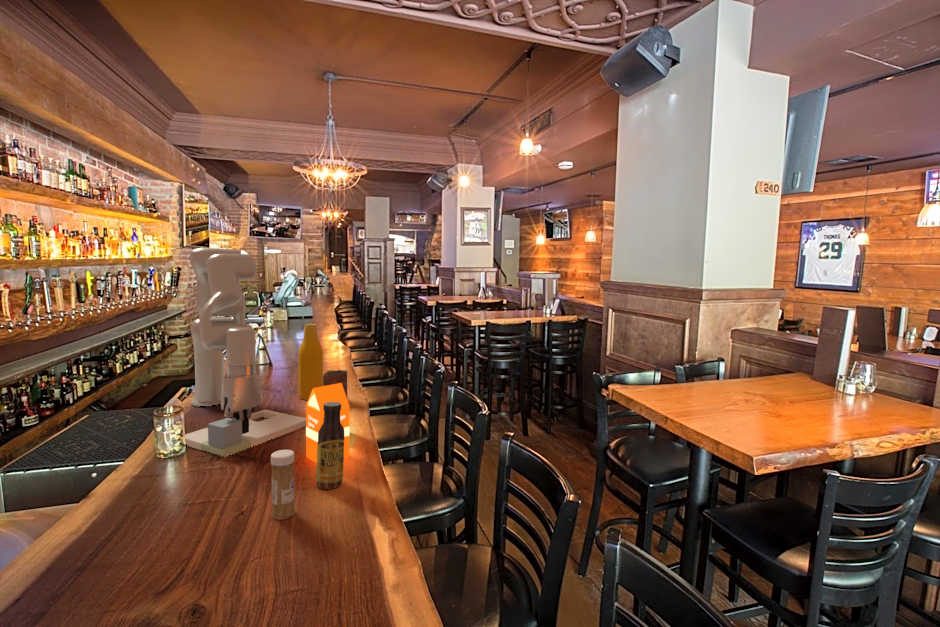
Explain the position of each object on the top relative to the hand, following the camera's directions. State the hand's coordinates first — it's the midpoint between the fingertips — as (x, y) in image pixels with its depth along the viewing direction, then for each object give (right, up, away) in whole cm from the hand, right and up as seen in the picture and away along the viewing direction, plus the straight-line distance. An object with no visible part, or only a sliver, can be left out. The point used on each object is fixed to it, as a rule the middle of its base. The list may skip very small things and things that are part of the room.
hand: (242, 432), depth 134 cm
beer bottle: (+3, +1, +48) cm, 48 cm away
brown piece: (+24, -3, +9) cm, 26 cm away
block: (-2, -2, -5) cm, 6 cm away
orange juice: (+27, -5, -7) cm, 29 cm away
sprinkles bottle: (+27, -8, -37) cm, 47 cm away
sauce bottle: (+33, -7, -23) cm, 41 cm away
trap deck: (-2, -2, +8) cm, 8 cm away
